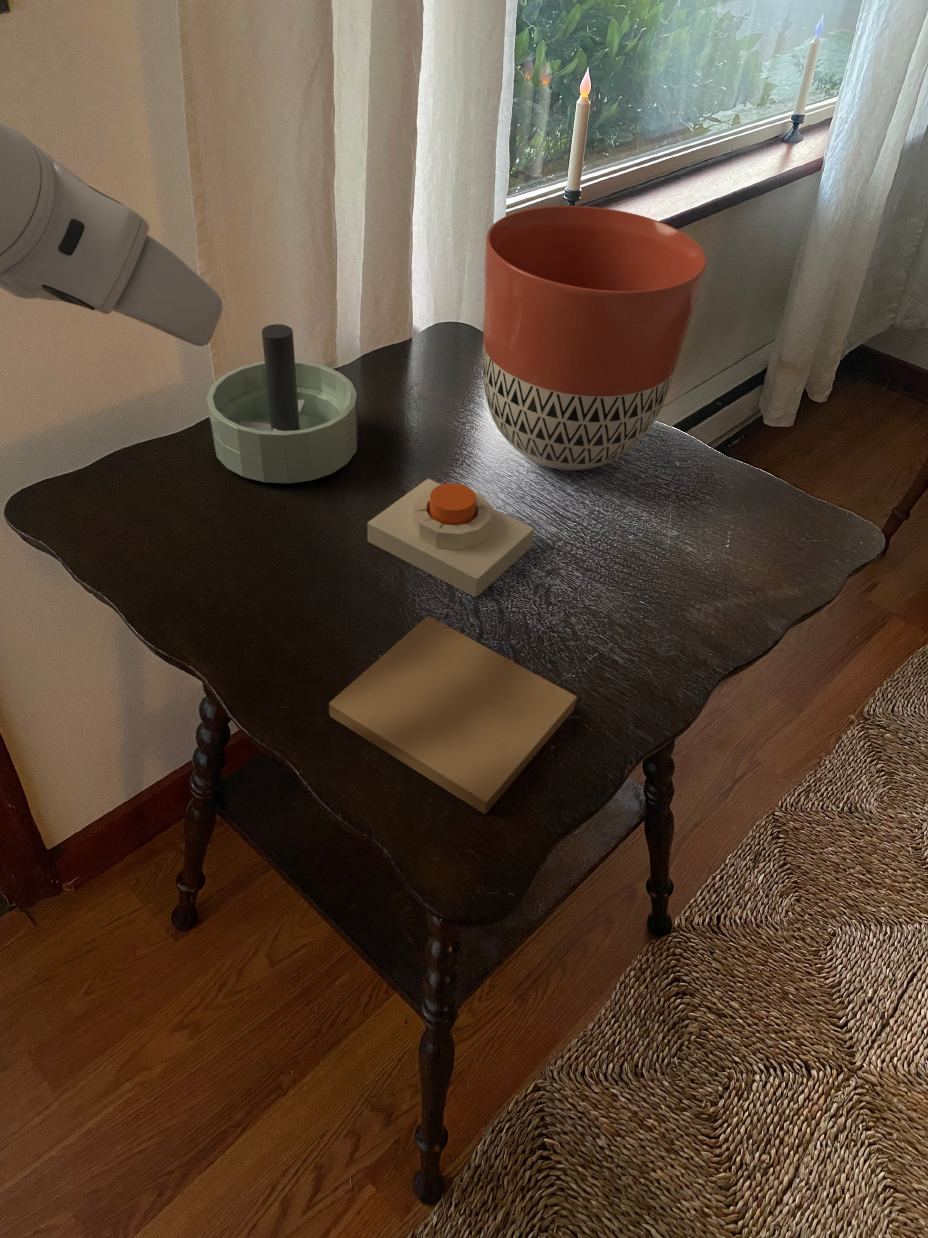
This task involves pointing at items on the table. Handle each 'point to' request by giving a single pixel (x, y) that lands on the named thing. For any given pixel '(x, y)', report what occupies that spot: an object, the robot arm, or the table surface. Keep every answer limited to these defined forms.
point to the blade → (280, 381)
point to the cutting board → (454, 711)
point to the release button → (452, 504)
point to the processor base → (451, 540)
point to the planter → (583, 328)
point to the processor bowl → (289, 451)
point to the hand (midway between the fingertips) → (164, 316)
